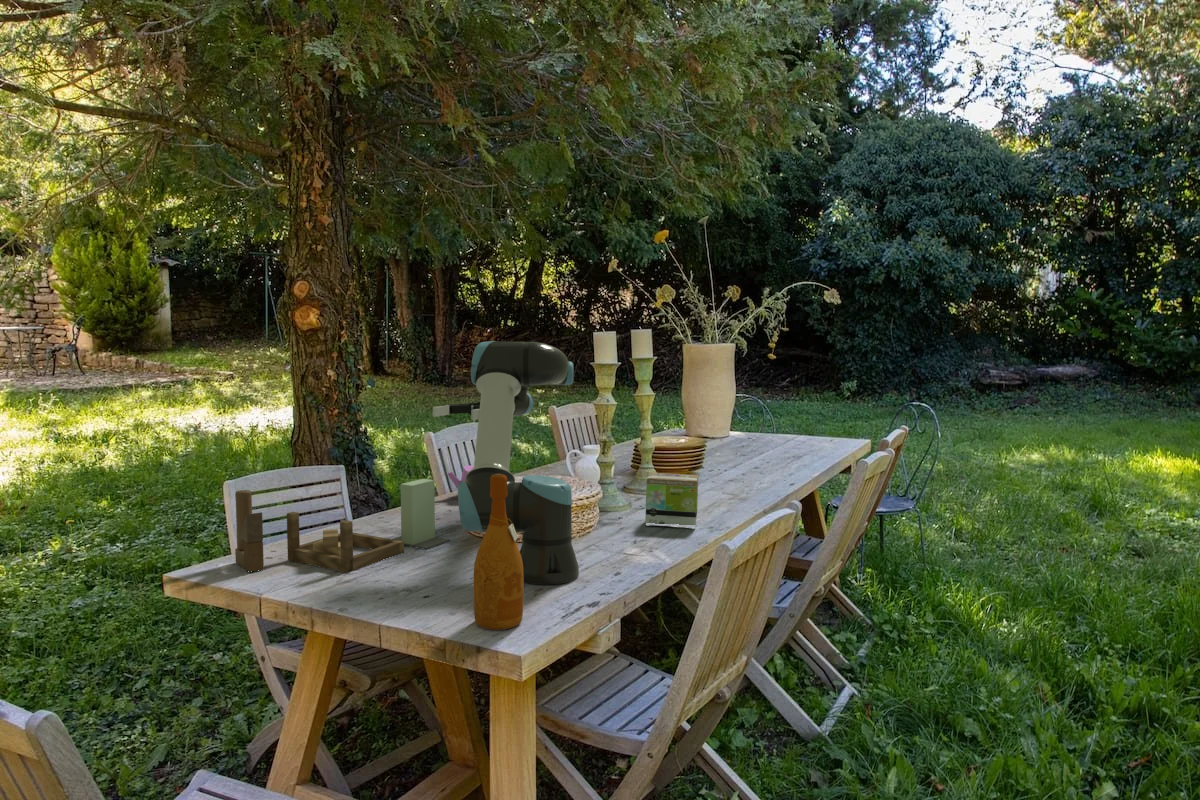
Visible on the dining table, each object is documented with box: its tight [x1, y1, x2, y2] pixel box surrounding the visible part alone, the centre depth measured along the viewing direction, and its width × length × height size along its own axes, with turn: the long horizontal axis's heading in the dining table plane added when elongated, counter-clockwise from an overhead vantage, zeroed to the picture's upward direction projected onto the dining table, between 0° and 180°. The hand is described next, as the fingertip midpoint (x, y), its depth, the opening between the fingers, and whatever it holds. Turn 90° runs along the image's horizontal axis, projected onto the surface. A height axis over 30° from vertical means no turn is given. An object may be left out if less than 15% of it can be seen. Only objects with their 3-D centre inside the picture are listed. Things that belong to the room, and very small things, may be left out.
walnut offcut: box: [322, 528, 339, 547], centre depth 202 cm, size 7×4×3 cm, turn 18°
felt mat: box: [392, 535, 451, 550], centre depth 222 cm, size 14×10×1 cm
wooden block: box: [234, 489, 265, 573], centre depth 197 cm, size 4×11×18 cm, turn 39°
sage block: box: [400, 478, 436, 545], centre depth 221 cm, size 4×9×16 cm, turn 152°
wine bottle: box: [473, 474, 525, 631], centre depth 161 cm, size 10×10×30 cm
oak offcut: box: [313, 540, 341, 556], centre depth 202 cm, size 8×4×3 cm, turn 70°
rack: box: [286, 511, 405, 574], centre depth 207 cm, size 20×20×12 cm
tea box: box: [645, 472, 699, 525], centre depth 243 cm, size 15×10×15 cm
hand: (452, 413), depth 229 cm, fingers open, 13 cm apart
